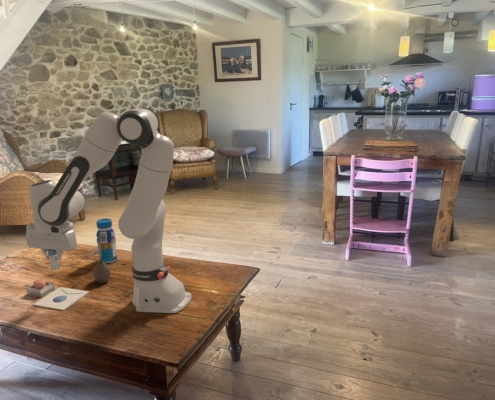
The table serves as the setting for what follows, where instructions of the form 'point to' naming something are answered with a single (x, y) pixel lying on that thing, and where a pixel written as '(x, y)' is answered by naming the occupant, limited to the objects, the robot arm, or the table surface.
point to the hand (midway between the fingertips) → (54, 259)
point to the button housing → (40, 290)
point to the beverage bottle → (106, 241)
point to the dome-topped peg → (53, 259)
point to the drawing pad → (61, 298)
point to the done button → (39, 283)
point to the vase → (101, 272)
